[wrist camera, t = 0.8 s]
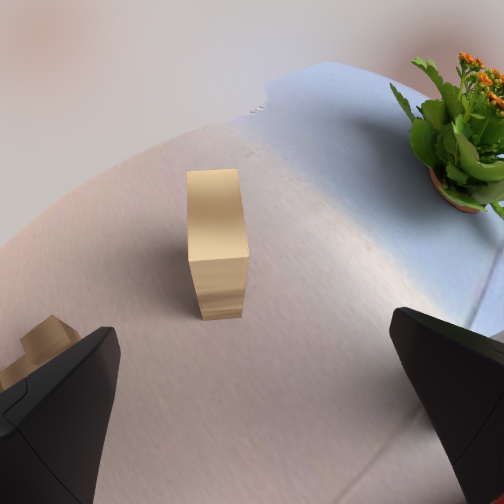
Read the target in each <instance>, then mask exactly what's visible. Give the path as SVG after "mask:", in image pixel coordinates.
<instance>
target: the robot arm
mask: <svg viewBox="0 0 504 504" xmlns="http://www.w3.org/2000/svg"><path fill="white" fill-rule="evenodd" d="M389 334H390V337H391V339H392V342H393V344H394V346H395V349H396V351H397V354H398V356H399V358H400V361H401V363H402V366H403V368H404V370H405V372H406V374H407V376H408V378H409V380H410V382H411V384H412V385H413V387H414V389H415V391H416V393H417V395H418V397H419V399H420V401H421V403H422V405H423V407H424V409H425V411H426V413H427V415H428V417H429V419H430V421H431V423H432V425H433V427H434V429H435V431H436V433H437V435H438V437H439V439H440V441H441V443H442V446H443V448H444V450H445V452H446V454H447V456H448V459H449V461H450V463H451V465H452V467H453V470H454V472H455V475H456V477H457V479H458V482H459V484H460V486H461V489H462V491H463V494H464V496H465V498H466V501H467V503H468V504H494V503H496V502H497V501H498V500H500V499H501V498H503V497H504V343H502V342H500V341H497V340H494V339H491V338H487V337H486V336H483V335H481V334H478V333H475V332H472V331H470V330H467V329H464V328H462V327H459V326H456V325H454V324H451V323H448V322H446V321H443V320H440V319H437V318H435V317H432V316H429V315H427V314H424V313H421V312H419V311H416V310H413V309H411V308H408V307H400V308H396V309H395V310H394V312H393V316H392V320H391V324H390V329H389ZM120 356H121V351H120V346H119V343H118V339H117V335H116V331H115V329H114V328H113V327H100V328H98V329H97V330H95V331H94V332H92V333H91V334H89V335H88V336H86V337H85V338H83V339H82V340H80V341H78V342H77V343H75V344H74V345H72V346H71V347H69V348H68V349H66V350H65V351H63V352H62V353H60V354H59V355H57V356H56V357H54V358H53V359H51V360H50V361H48V362H47V363H45V364H44V365H42V366H41V367H39V368H38V369H36V370H35V371H33V372H32V373H30V374H29V375H27V377H24V378H23V379H21V380H20V381H18V382H17V383H15V384H14V385H12V386H11V387H9V388H7V389H6V390H4V391H2V392H1V393H0V504H93V500H94V494H95V488H96V482H97V476H98V471H99V465H100V460H101V455H102V450H103V445H104V440H105V436H106V431H107V427H108V423H109V418H110V414H111V410H112V406H113V402H114V397H115V391H116V384H117V377H118V369H119V362H120Z"/></svg>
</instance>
